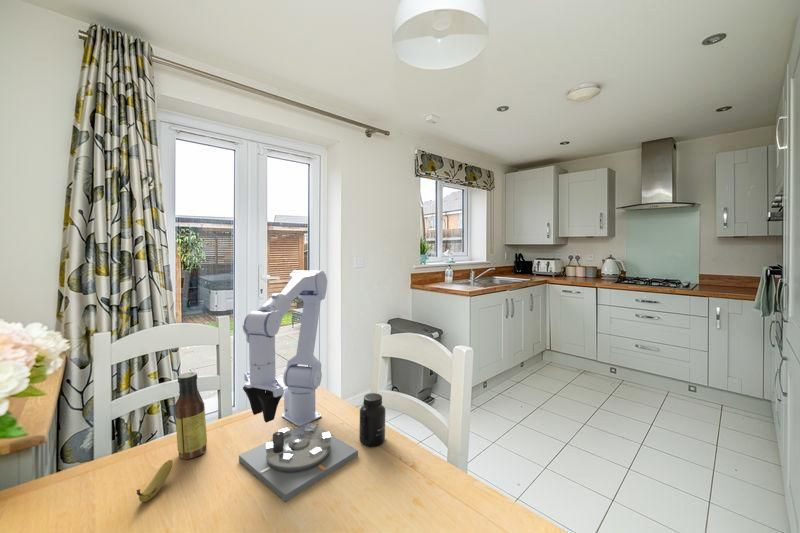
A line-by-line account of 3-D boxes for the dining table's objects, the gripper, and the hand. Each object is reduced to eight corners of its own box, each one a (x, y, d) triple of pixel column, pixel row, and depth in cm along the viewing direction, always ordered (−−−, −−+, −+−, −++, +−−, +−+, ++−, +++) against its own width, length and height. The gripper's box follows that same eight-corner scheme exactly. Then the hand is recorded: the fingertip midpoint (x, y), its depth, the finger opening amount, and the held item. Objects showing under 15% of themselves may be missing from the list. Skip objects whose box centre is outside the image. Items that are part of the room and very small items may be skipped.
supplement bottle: (384, 448, 88) (384, 403, 88) (357, 448, 89) (357, 402, 88) (385, 433, 95) (386, 391, 94) (361, 433, 95) (361, 390, 95)
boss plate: (239, 461, 83) (238, 454, 83) (309, 427, 98) (309, 421, 98) (285, 502, 70) (285, 494, 70) (358, 455, 85) (358, 449, 85)
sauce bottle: (212, 446, 89) (210, 370, 87) (195, 461, 82) (193, 380, 81) (188, 444, 89) (186, 369, 88) (170, 459, 83) (167, 378, 82)
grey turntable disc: (307, 428, 94) (307, 404, 94) (343, 449, 85) (343, 423, 84) (254, 453, 83) (253, 426, 82) (289, 481, 73) (288, 451, 73)
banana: (166, 475, 78) (165, 458, 77) (177, 475, 78) (176, 458, 77) (131, 510, 67) (130, 490, 67) (144, 510, 67) (143, 491, 67)
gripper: (231, 358, 84) (232, 413, 85) (262, 373, 75) (263, 434, 76) (259, 351, 89) (260, 403, 90) (291, 365, 80) (291, 422, 81)
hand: (263, 416), depth 83 cm, fingers open, 5 cm apart
